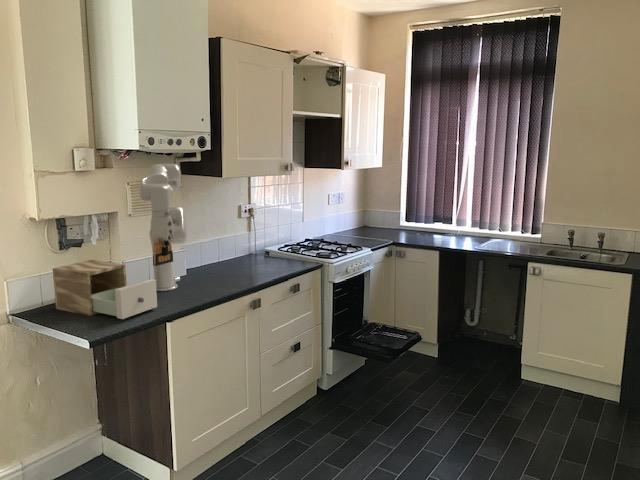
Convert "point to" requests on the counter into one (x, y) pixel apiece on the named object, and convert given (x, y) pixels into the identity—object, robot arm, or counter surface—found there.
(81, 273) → the cabinet
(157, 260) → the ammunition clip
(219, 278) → the counter surface
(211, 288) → the counter surface
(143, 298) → the drawer
